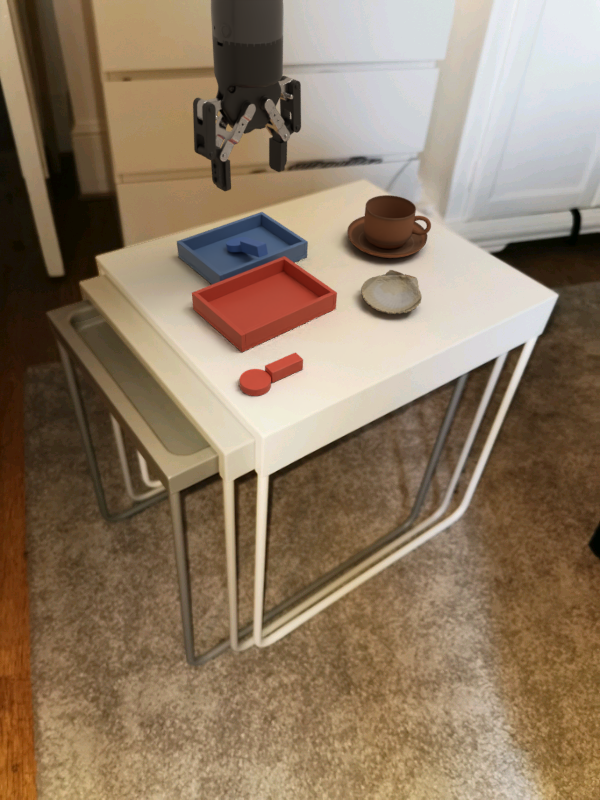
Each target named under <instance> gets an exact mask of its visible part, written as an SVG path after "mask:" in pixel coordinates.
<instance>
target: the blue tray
mask: <svg viewBox="0 0 600 800" xmlns="http://www.w3.org/2000/svg"><path fill="white" fill-rule="evenodd" d="M239 237H248V238H251V239H254V240H257V241H260V242H263V243H266V245H267V251H268V254H267V255H264V256H262V257H256V256H253V255H250V254H247V253H244V252H242V251H241V252H229V251H228V250H227V245H226V242H227V241H229V240H231V239H234V238H239ZM308 245H309V241H307V240H306V239H304V238H303V237H301V236H300V235H298V234H297V233H296V232H294V231H293V230H291V229H289V228H288V227H286V226H285V225H283V224H282V223H280V222H278V221H277V220H276V219H274V218H273V217H271V216H270V215H268V214H266V213H265V212H264V211H260V212H258V213H257V212H256V213H254V214H251V215H249V216H245V217H243V218H240V219H236V220H234V221H231V222H228V223H225V224H222V225H220V226H216V227H214V228H211V229H208V230H205V231H203V232H199V233H196V234H194V235H190V236H187V237H185V238H182V239H179V240H176V248H177V257H178V258H179V259H180V260H182V261H183V262H184V263H185V264H186V265H188V266H189V267H190V268H191V269H192V270H194V271H195V272H196V273H197V274H199V276H201V277H202V278H203V279H204V280H205V281H207V282H208V283H210V285H212V284H215V283H218V282H220V281H223V280H225V279H228V278H230V277H233V276H235V275H238V274H240V273H243V272H246V271H248V270H251V269H253V268H256V267H258V266H261V265H263V264H266V263H268V262H271V261H273V260H276V259H279V258H282V257H284V256H285V257H287V258H288V259H290V260H291V261H292V262H294V263H296V262H299V261H301V260H304V259H306V258H308V248H309V247H308Z"/></svg>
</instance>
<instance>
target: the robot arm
mask: <svg viewBox="0 0 600 800" xmlns="http://www.w3.org/2000/svg"><path fill="white" fill-rule="evenodd" d="M210 18H211V19H210V20H211V21H210V22H211V37H212V38H211V39H212V41H211V42H212V56H213V58H212V59H213V73H214V78H215V80H216V83H217V92H216V95H215V97H214V98H209V99H204V98H201V97H196V98H194V100H193V102H192V116H193V117H192V118H193V119H192V120H193V150H194V152H195V153H196V154H198V155H200V156H202V157H203V158H206V160H209V161H210V166H211V167H210V168H211V180H212V183H213V185H215V187H216V188H218V189H219V190H221V191H223V192H228V191H231V190H232V175H231V173H232V172H231V171H232V170H231V160H230V159H229V157H230V155H231V153H232V151H233V149H234V147H235V145H237V144H239V143H240V141H241V139H242V137H243V135H245V134H249V133H252V132H253V131H255V130H262V129H266V130H267V132H268V133H269V135H270V136H271V137H269V138H268V166H269V168H270V169H271V170H273V171H275V172H277V173H280V172H284V171H285V169H286V165H287V162H288V141H290V138H291V135H292V134H294V133H295V134H296V133H299V132H300V131H301V129H302V88H301V87H302V86H301V81H299V80H297V79H295V78H292V77H289V76H287V75H284V72H283V71H284V0H210ZM278 103H279V110H278V109H277V108H276V107H277V106H278ZM228 126H229V127H230V128H231V130H230V131H228V130H227V127H228Z"/></svg>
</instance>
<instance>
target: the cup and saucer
mask: <svg viewBox="0 0 600 800" xmlns="http://www.w3.org/2000/svg"><path fill="white" fill-rule="evenodd" d="M416 213H417V207H416V205H415V204H414V203H413V202H412V201H411V200H409V199H407V198H405V197H402V196H399V195H391V194H388V195H387V194H383V195H377V196H374V197H371V198H369V199H368V200H367V201H366V203H365V209H364V215H363V216H360V217H358V218H355V219H354V220H352V221H351V222H350V224H349V225H348V227H347V230H346V231H347V237H348V239H349V242H351V244H353V245H354V247H355V248H357V249H358V250H360V251H361V252H363V253H365V254H368V255H369V256H374V257H380V258H385V259H386V258H388V259H392V258H393V259H396V258H397V259H399V258H404V257H408V256H411V255H414V254H415V253H417V252H419V251H420V250H422V249H423V248H424V247H425V245H426V244H427V241H428V233H429V232H430V231H431V228H432V222H431V220H430V219H429V218H428V217H426V216H424V215H416ZM418 221H421V222H425V224H426V227H425V228H424V227H423V226H422V225H421V224H420V223H418Z"/></svg>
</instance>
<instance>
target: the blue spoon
mask: <svg viewBox="0 0 600 800" xmlns="http://www.w3.org/2000/svg"><path fill="white" fill-rule="evenodd" d="M226 245H227V250H228V251H229V252H241V251H242V252H244V253H247V254H250V255H253V256H256V257H262V256H264V255H267V254H268V251H267V245H266V243H263V242H260V241H257V240H254V239H251V238H248V237H239V238H234V239H231V240H229V241H227V242H226Z"/></svg>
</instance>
